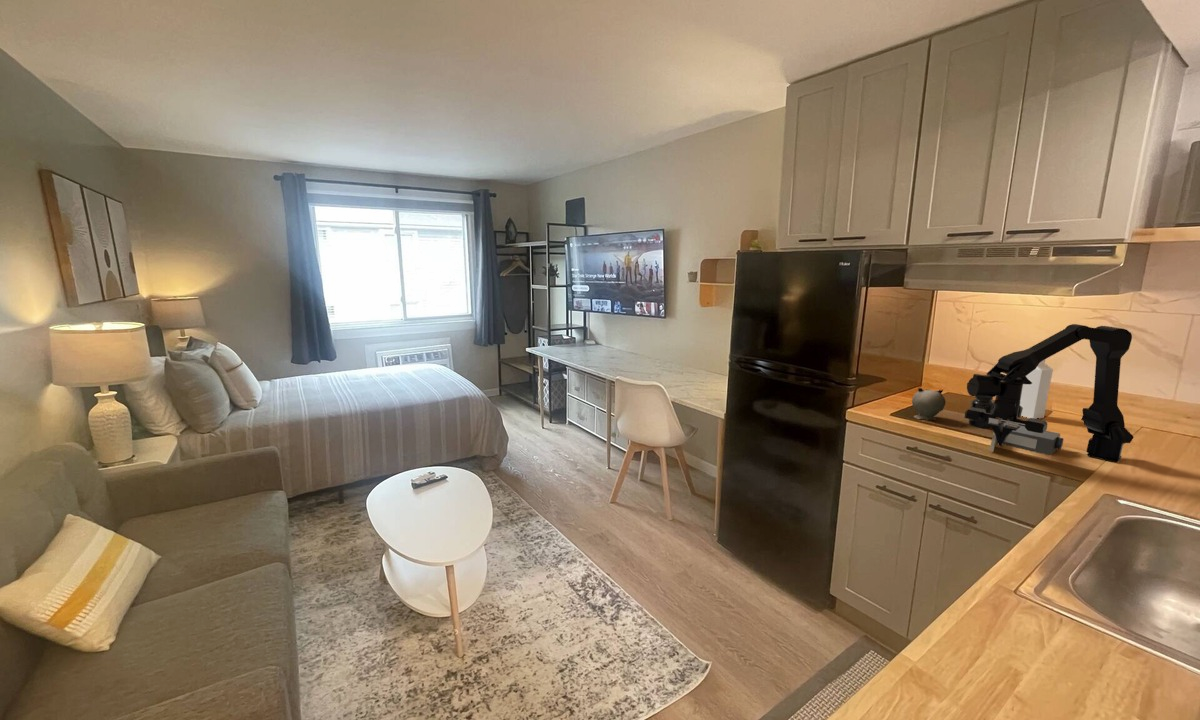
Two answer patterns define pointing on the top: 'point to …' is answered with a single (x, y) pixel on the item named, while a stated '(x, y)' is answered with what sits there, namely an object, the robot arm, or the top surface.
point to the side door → (993, 443)
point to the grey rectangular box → (1034, 440)
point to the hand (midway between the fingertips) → (1000, 446)
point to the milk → (1036, 392)
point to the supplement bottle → (982, 404)
